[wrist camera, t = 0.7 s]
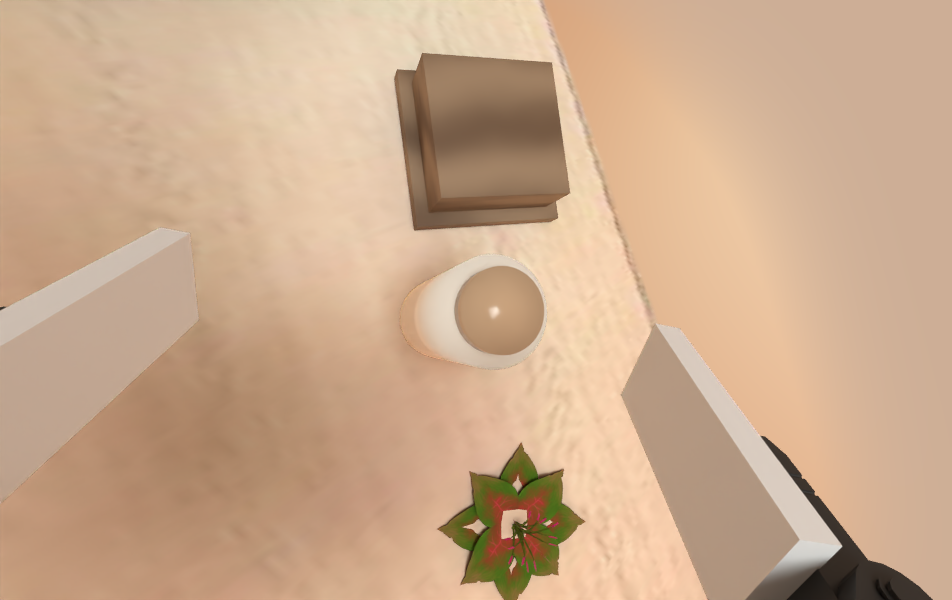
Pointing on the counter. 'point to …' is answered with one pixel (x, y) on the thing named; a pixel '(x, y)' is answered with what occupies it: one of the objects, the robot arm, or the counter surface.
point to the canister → (477, 313)
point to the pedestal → (481, 141)
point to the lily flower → (514, 527)
